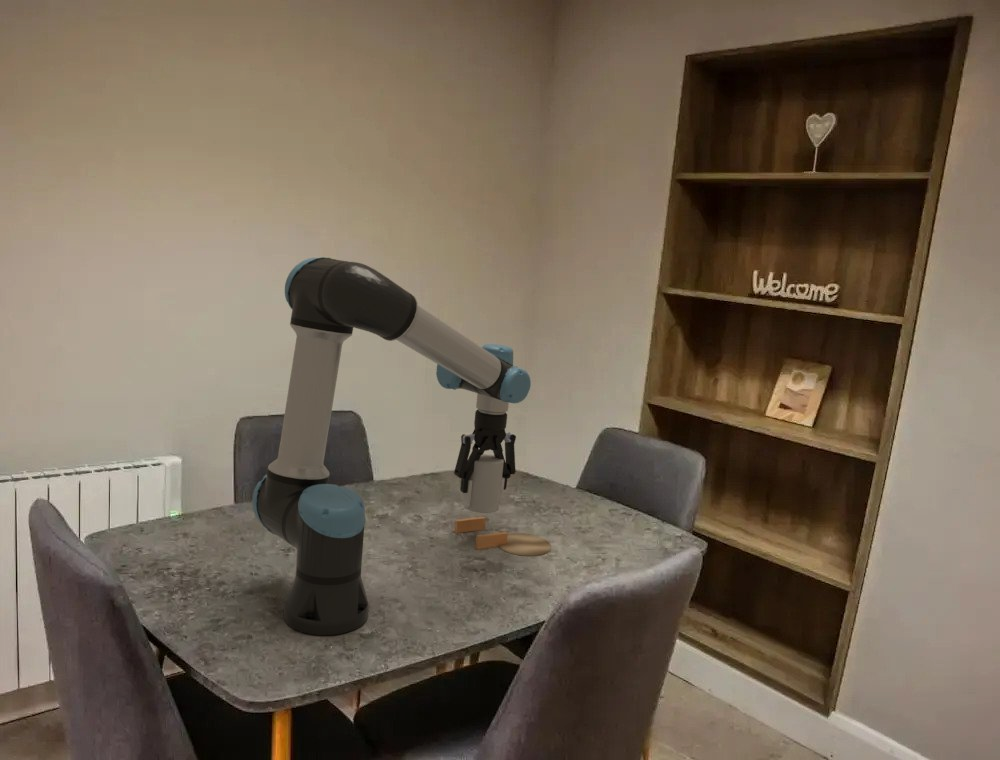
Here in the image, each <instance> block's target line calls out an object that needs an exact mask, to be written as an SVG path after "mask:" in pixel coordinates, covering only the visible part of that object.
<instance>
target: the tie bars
mask: <svg viewBox="0 0 1000 760" xmlns="http://www.w3.org/2000/svg"><path fill="white" fill-rule="evenodd" d="M486 521H487V518H486V517H485V516H478V517H469V518H460V519H455V521H454V533H456V534H461V533H468V532H475V531H477V532H478V531H482V530H483V531H484V530H486V523H487V522H486ZM508 534H509V533H508V532H507V531H501V532H493V533H487V534H486V533H485V534H480V535H476V536H475V546H474V548H475V550H483V549H489V548H497V547H498V545H501V544H507V537H508ZM498 548H499V547H498Z"/></svg>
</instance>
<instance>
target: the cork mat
mask: <svg viewBox="0 0 1000 760" xmlns="http://www.w3.org/2000/svg"><path fill="white" fill-rule="evenodd" d="M498 548H499V549H500V550H501V551H504V552H506V553H509V554H512V555H515V556H522V557H538V556H542V555H546V554H548V553H549V552H551V549H552V545H551V543H550V542H549V541H548V540H547V539H545V538H543V537H541V536H538V535H534V534H530V533H521V532H517V533H516V532H515V533H514V532H512V533H508V537H507V544H501V545H498Z"/></svg>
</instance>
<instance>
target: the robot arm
mask: <svg viewBox="0 0 1000 760" xmlns="http://www.w3.org/2000/svg"><path fill="white" fill-rule="evenodd" d="M284 297H285V300H286V303H288V306H289V308H290V309H291V317H290V322H289V325H290V328H292V330H293V331H294V333H295V335H296V340H295V345H294V351H293V358H292V364H291V371H290V378H289V382H288V383H289V384H288V389H287V397H286V403H285V409H284V410H285V411H284V416H283V421H282V428H281V436H280V442H279V447H278V453H277V455H278V456H277V458H276V459H275V460H273V461H272V462H271V463H269V464H268V466H267V472H266V474H265V475H264V476H262V479H261V480H259V481H258V483H256V486H255V487H254V490H253V493H252V501H251V503H252V511H253V513H254V515H255V517H256V519H257V520H258V522H259V523H260V524H261V525H262V526H263V527H264V528H265V529H266V530H267V531H268V532H270V533H271V534H273V535H275V536H277V537H279V538H280V539H282V540H283V541H284V542H286V543H287V544H289V545H291V546H292V547H293V548H295V549H296V564H295V565H296V568H295V577H294V579H293V582H292V585H291V586H290V590H289V593H288V595H287V597H286V599H285V603H284V610H283V612H284V613H283V619H284V621H285V623H286V624H287V625H288V626H289V627H291V629H294V630H295V631H297V632H300V633H303V634H308V635H314V636H331V635H332V636H334V635H335V636H336V635H340V634H345V633H349V632H352V631H354V630H356V629H358V628H360V627H361V626H363V625H364V624H365V623H366V622H367V619H368V618H369V606H370V605H369V599H368V596H367V593H366V589H365V586H364V582H363V579H362V566H363V565H362V564H363V549H364V537H365V536H364V533H365V525H366V512H365V511H366V509H365V506H366V505H365V503H364V500H363V498H362V496H361V495H360V494H359V493H358V492H356V491H355V490H353V489H351V488H349V487H346V486H339V485H338V484H333V483H332V484H331V483H329V480H330V471H329V469H328V468H327V467H326V466H325V465H324V461H325V454H326V448H327V443H328V435H329V431H330V430H329V429H330V424H331V418H332V417H331V416H332V410H333V405H334V398H335V392H336V386H337V380H338V373H339V366H340V361H341V355H342V347H343V344H344V342H345V341H346V340H348V339H349V338H351V337H352V336H353V332H354V329H357V330H361V331H366V332H368V333H372V334H374V335H377V336H378V337H380V338H382V339H384V340H386V341H387V342H388V341H389V342H392V341H393V342H394V341H398V342H399V343H401V344H402V345H405V346H406V347H407V348H410V349H411V350H413V351H415V352H416V353H418V354H420V355H422V356H424V357H425V358H427V359H428V360H430V361H432V362H434V363H435V364H437V365H436V371H435V372H436V373H435V374H436V380H437V382H438V384H439V385H440V386H441V387H442V388H444V389H445V390H459V389H462V390H466V391H469V392H473V393H475V394H477V395H476V403H475V407H476V409H477V410H475V413H474V423H473V426H474V428H473V429H474V430H473V431H472V433H471V434H465V433H464V434H461V436H460V441H461V443H460V444H461V445H460V448H459V452H458V456H457V460H456V464H455V467H454V472H453V475H454V476H456V477H457V478H459V479H460V492H461V493H462V495H461V496H462V498H461V504H462V505H463V506H464V507H465V506H466V507H470V501H471V492H472V482H473V480H471V479H470V477H471V475H472V473H473V471H474V464H475V461H479V459H480V457H481V455H482V454H485V452H486V451H492V452H493V455H494V456H495V457H496V458H498V459H503V460H504V464H503V473H502V482H501V492H500V501H499V505H502V504H503V499H504V498H503V497H504V491H505V490H506V489H507V486H508V485H507V484H508V479H510V478H511V477H512V475H515V474H516V455H515V444H516V443H515V442H516V438H517V436H516V434H513V433H512V432H506V428H507V423H508V421H507V420H508V414H507V412H509V407H510V406H509V403H511V404H519V403H521V402H523V401H524V400H525V399H526V398H527V397H528V394H529V392H530V391H531V382H532V381H531V377H530V374H529V372H528V371H526V370H525V369H523V368H520V367H518V366H515V365H514V350H513V348H512V347H511V346H508V345H503V344H497V343H496V344H494V343H486V344H483V345H482V346H480V345H479V344H478V343H476V342H474V341H473V340H471V339H469V337H466V336H465V335H464V334H462V333H460V332H459V331H458V330H456V329H455V328H453V327H452V326H450V325H448V323H445V322H444V321H442V320H441V319H440V318H438V317H436V316H435V315H434V314H432V313H430V312H429V311H427V309H424V308H423V307H422V306H420V305H418V301H417V298H416V297H415V295H413V294H411V293H410V292H409V291H407V290H405V289H404V288H403V287H402V286H400V285H399V284H397V283H395V282H394V281H393V280H391V278H388V277H387V276H386V275H384V274H383V273H381V272H379V271H378V270H377V269H375V268H373V267H371V266H368V265H367V264H365V263H361V262H355V261H348V260H343V259H342V260H341V259H335V258H332V257H325V256H321V257H311V258H307V259H303V260H302V261H301V262H298V264H296V265H294V267H293V268H292V269H291V270H290V272H289V273H288V276H287V278H286V280H285V284H284ZM473 441H474V443H473ZM503 441H504V449H503V447H502V442H503ZM472 444H473V445H472ZM471 449H472V451H471ZM503 451H504V453H503ZM470 452H471V453H470Z"/></svg>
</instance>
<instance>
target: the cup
mask: <svg viewBox="0 0 1000 760" xmlns="http://www.w3.org/2000/svg"><path fill="white" fill-rule="evenodd" d="M503 464H504V460H503V459H498V458H496V457H495V456H494V454H489V453H488V454H487V453H483V454H482V455H481V457H480V459H479V461H475V464H474V471H473V473H472V475H471V477H470V479H471V480H473V482H472V492H471V501H470V507H466V506H464V507H465V509H467V510H468V511H470V512H475V513H480V514H492V513H497V512H498V511H499V510H500V509H499V508H500V507H499V506H500V504H499V501H500V492H501V482H502V473H503Z"/></svg>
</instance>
